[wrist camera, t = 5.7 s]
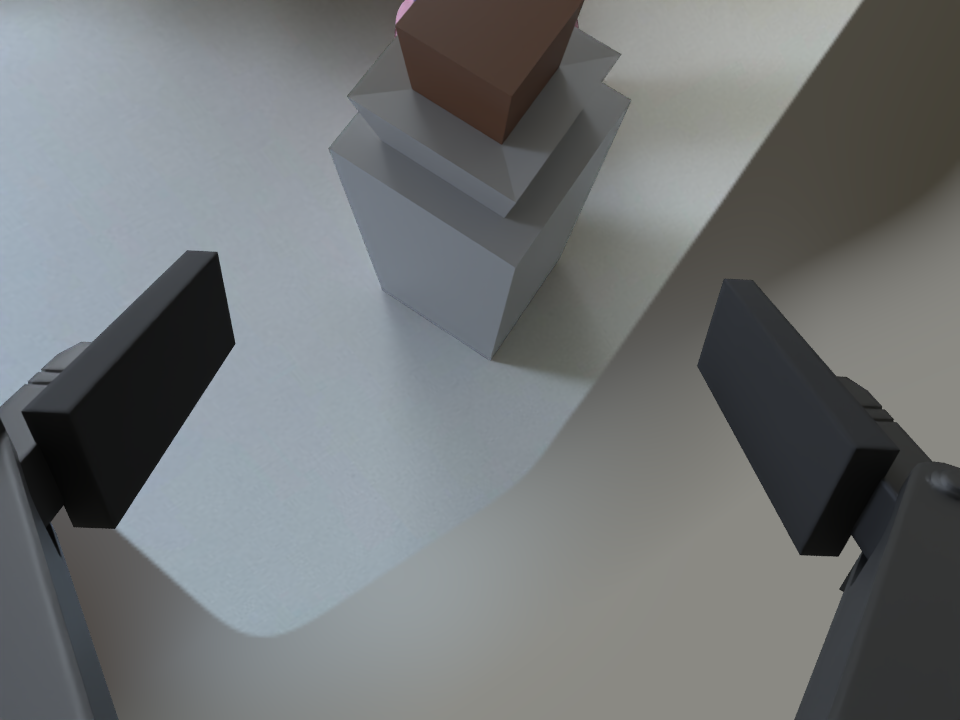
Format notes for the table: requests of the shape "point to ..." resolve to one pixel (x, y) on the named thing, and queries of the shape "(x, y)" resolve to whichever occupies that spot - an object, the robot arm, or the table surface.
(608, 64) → the perfume bottle
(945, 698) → the robot arm
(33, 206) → the table surface
